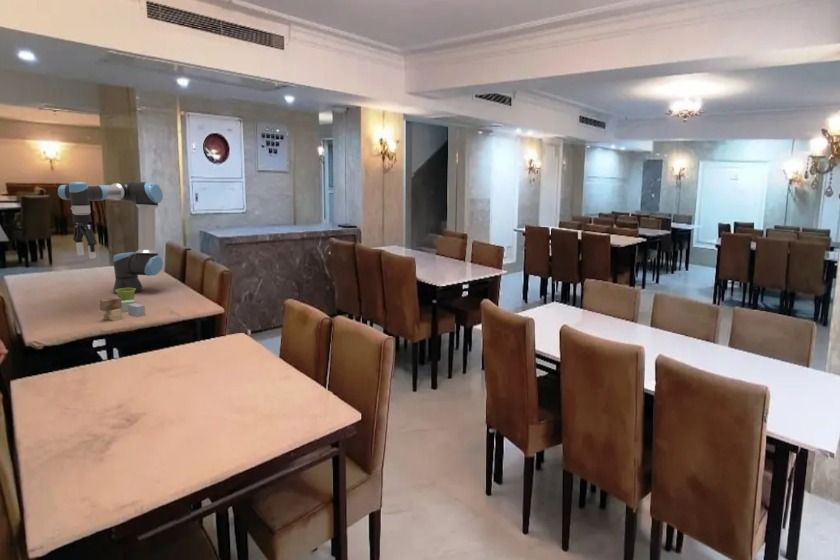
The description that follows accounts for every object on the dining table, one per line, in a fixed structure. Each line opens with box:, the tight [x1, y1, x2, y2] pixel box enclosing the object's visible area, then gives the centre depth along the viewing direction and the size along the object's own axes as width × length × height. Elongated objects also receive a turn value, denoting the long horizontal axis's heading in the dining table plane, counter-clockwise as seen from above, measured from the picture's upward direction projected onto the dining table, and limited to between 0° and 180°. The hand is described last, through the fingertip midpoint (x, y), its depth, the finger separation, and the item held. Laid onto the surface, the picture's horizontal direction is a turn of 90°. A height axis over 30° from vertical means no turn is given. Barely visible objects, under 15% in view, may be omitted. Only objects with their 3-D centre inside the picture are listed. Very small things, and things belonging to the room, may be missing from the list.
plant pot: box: [115, 288, 136, 301], centre depth 271 cm, size 9×9×9 cm
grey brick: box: [127, 302, 146, 317], centre depth 256 cm, size 8×4×5 cm, turn 59°
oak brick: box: [102, 309, 123, 322], centre depth 248 cm, size 8×4×5 cm, turn 65°
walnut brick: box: [99, 296, 122, 312], centre depth 247 cm, size 8×4×5 cm, turn 147°
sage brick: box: [120, 299, 136, 313], centre depth 262 cm, size 8×4×5 cm, turn 124°
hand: (86, 256), depth 252 cm, fingers open, 13 cm apart
